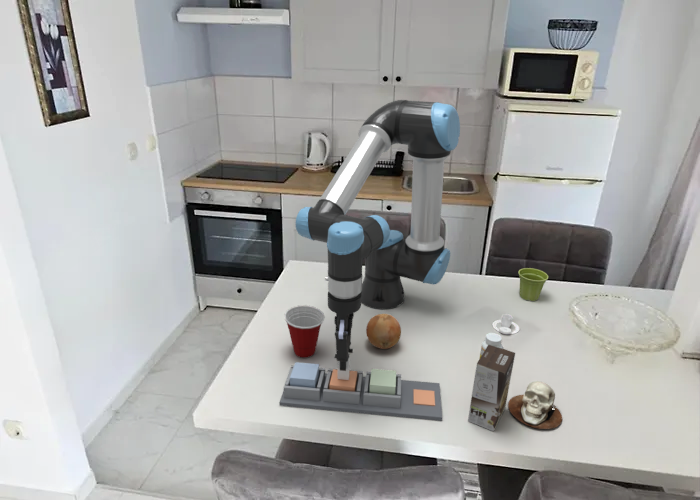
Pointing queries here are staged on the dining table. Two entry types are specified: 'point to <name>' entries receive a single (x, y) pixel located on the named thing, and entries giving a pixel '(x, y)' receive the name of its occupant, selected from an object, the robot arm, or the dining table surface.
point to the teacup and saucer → (506, 325)
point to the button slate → (304, 375)
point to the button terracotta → (343, 382)
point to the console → (367, 397)
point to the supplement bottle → (491, 342)
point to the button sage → (383, 382)
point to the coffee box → (491, 387)
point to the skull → (536, 407)
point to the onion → (383, 331)
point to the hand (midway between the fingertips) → (343, 377)
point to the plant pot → (531, 283)
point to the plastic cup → (304, 328)
